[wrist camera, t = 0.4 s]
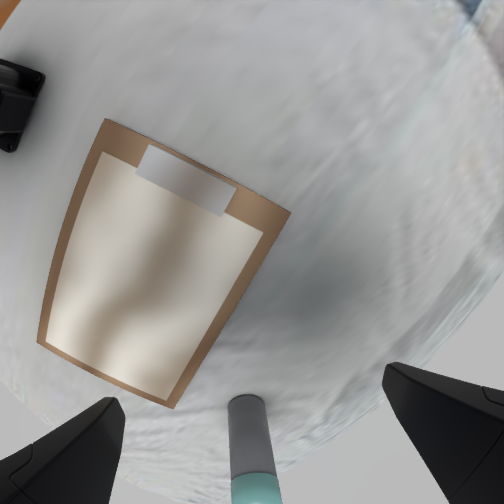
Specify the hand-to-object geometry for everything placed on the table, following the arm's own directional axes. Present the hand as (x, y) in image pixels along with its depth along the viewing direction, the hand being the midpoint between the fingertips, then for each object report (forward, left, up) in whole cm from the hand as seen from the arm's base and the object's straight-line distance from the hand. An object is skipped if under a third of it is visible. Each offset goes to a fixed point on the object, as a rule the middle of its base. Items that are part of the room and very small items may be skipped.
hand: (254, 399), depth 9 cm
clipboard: (-5, -5, -13) cm, 15 cm away
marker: (+8, -12, -13) cm, 20 cm away
